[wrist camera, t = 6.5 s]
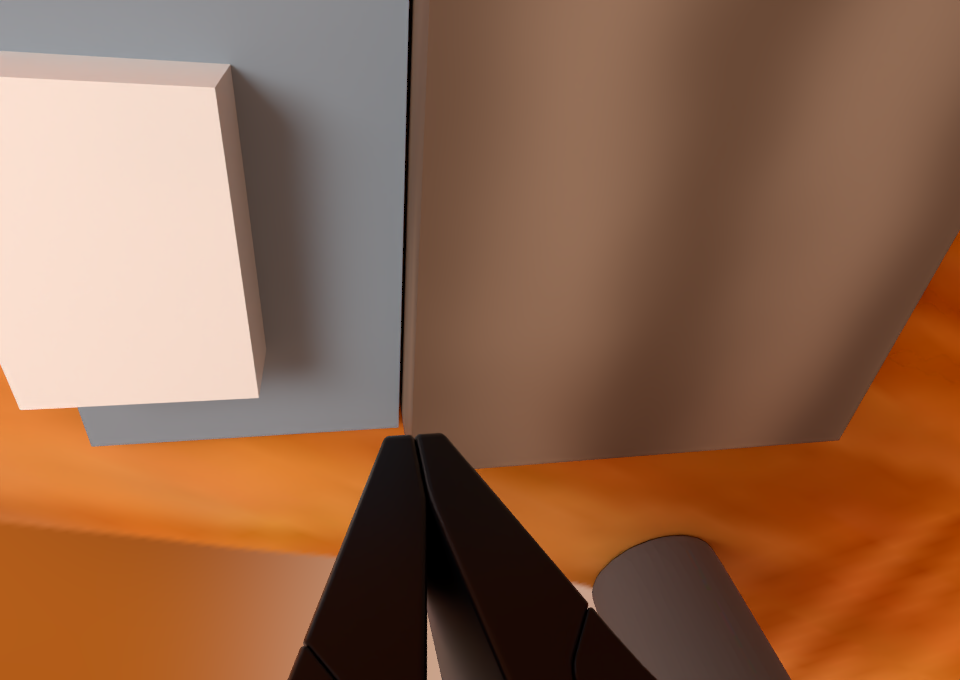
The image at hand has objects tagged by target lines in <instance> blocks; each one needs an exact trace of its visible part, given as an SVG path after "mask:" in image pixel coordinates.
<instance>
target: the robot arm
mask: <svg viewBox="0 0 960 680" xmlns="http://www.w3.org/2000/svg"><path fill="white" fill-rule="evenodd" d="M587 608H588V603H587V601H586V600H585V599H584V598H583V597H582V595H581V594H580V593H579V592H578V590H577V589H576V588H575V587H574V586H573V585H572V583H571V582H570V581H569V580H568V579H567V577H566V576H565V575H564V574H563V573H562V572H561V570H560V569H559V568H558V567H557V566H556V565H555V563H554V562H553V561H552V560H551V559H550V558H549V556H548V555H547V554H546V553H545V552H544V551H543V549H542V548H541V547H540V546H539V545H538V543H537V542H536V541H535V540H534V539H533V538H532V536H531V535H530V534H529V533H528V532H527V531H526V529H525V528H524V527H523V526H522V525H521V524H520V522H519V521H518V520H517V519H516V518H515V516H514V515H513V514H512V513H511V512H510V511H509V509H508V508H507V507H506V506H505V505H504V504H503V502H502V501H501V500H500V499H499V498H498V497H497V495H496V494H495V493H494V492H493V491H492V489H491V488H490V487H489V486H488V485H487V484H486V482H485V481H484V480H483V479H482V478H481V477H480V475H479V474H478V473H477V472H476V471H475V470H474V468H473V467H472V466H471V465H470V464H469V463H468V461H467V460H466V459H465V458H464V457H463V455H462V454H461V453H460V452H459V451H458V450H457V448H456V447H455V446H454V445H453V444H452V443H451V441H450V440H449V439H448V438H447V437H446V436H445V435H444V434H442V433H428V434H418V435H417V436H416V437H415V439H414V437H413V436H411V435H398V436H387V437H386V438H385V439H384V440H383V443H382V445H381V448H380V450H379V453H378V455H377V458H376V460H375V463H374V465H373V468H372V470H371V473H370V475H369V478H368V480H367V483H366V485H365V488H364V490H363V493H362V495H361V498H360V500H359V503H358V505H357V508H356V510H355V513H354V515H353V518H352V520H351V523H350V525H349V528H348V530H347V533H346V536H345V538H344V541H343V543H342V546H341V548H340V551H339V553H338V556H337V558H336V561H335V563H334V566H333V568H332V571H331V573H330V576H329V578H328V581H327V583H326V586H325V588H324V591H323V593H322V596H321V599H320V601H319V603H318V606H317V608H316V611H315V614H314V616H313V618H312V621H311V624H310V626H309V629H308V631H307V634H306V636H305V639H304V642H303V644H304V646H303V647H301V648H300V650H299V653H298V655H297V658H296V660H295V663H294V665H293V668H292V670H291V673H290V675H289V678H288V680H427V613H428V618H429V622H430V627H431V631H432V636H433V640H434V645H435V650H436V654H437V659H438V663H439V668H440V672H441V677H442V680H657V679H656V678H655V677H654V676H653V675H652V674H651V673H650V672H649V671H648V670H647V669H646V668H645V667H644V666H643V665H642V664H641V662H640V661H639V660H638V659H637V658H636V657H635V656H634V655H633V654H632V652H631V651H630V650H629V649H628V648H627V647H626V646H625V645H624V644H623V642H622V641H621V640H620V639H619V638H618V637H617V636H616V635H615V633H614V632H613V631H612V630H611V629H610V628H609V627H608V625H607V624H606V623H605V622H604V621H603V619H602V618H601V617H600V616H599V615H598V614H597V612H596V611H595V610H594V609H593V608H588V609H587Z"/></svg>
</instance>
